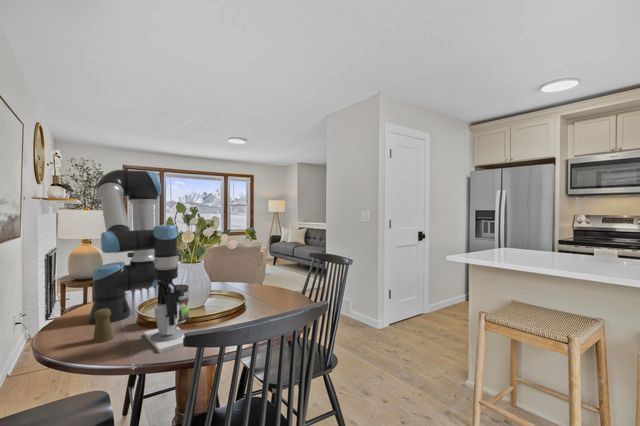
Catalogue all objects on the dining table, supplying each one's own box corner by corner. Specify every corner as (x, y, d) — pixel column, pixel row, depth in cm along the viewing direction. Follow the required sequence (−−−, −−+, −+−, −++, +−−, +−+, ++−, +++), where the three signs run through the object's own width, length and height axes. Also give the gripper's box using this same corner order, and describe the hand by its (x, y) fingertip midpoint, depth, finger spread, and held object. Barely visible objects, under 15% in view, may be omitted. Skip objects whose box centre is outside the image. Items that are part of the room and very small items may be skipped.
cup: (178, 335, 113) (177, 307, 113) (152, 338, 111) (152, 309, 111) (181, 327, 121) (180, 300, 121) (157, 329, 119) (156, 302, 118)
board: (144, 335, 120) (144, 331, 120) (174, 327, 127) (174, 323, 127) (159, 352, 105) (159, 348, 105) (193, 343, 112) (193, 338, 112)
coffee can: (194, 316, 139) (193, 284, 139) (179, 325, 129) (178, 290, 129) (173, 315, 141) (172, 283, 141) (157, 324, 131) (156, 289, 131)
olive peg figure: (91, 344, 112) (90, 313, 112) (94, 338, 117) (93, 308, 117) (112, 340, 115) (111, 310, 115) (114, 334, 120) (113, 305, 120)
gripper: (147, 265, 120) (148, 325, 121) (163, 273, 105) (165, 342, 106) (168, 262, 125) (169, 320, 126) (186, 270, 110) (188, 335, 111)
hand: (167, 330), depth 116 cm, fingers closed on cup, 8 cm apart
